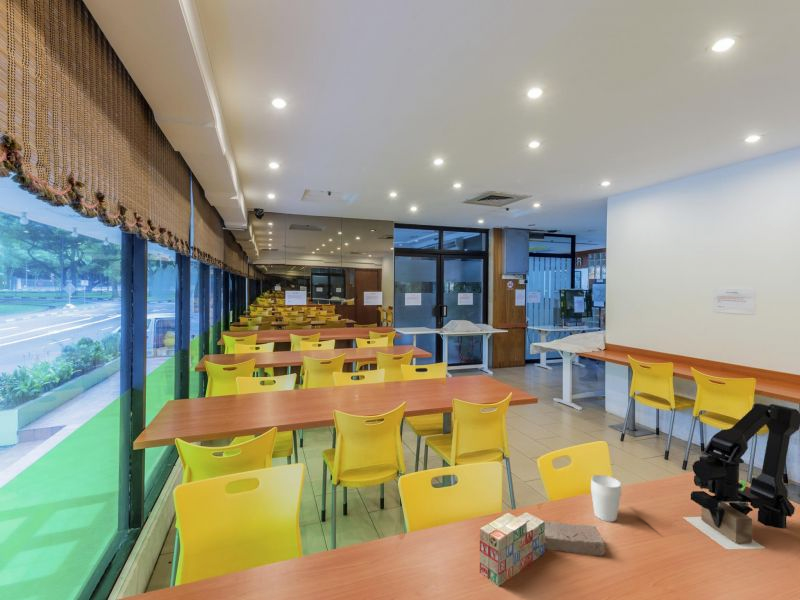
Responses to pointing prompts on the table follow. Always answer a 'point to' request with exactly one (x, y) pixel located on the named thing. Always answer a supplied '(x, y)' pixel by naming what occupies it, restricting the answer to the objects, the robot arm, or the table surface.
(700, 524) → the board
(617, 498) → the cup
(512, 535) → the stack of blocks
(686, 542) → the table surface
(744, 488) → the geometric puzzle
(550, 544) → the brick
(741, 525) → the block
